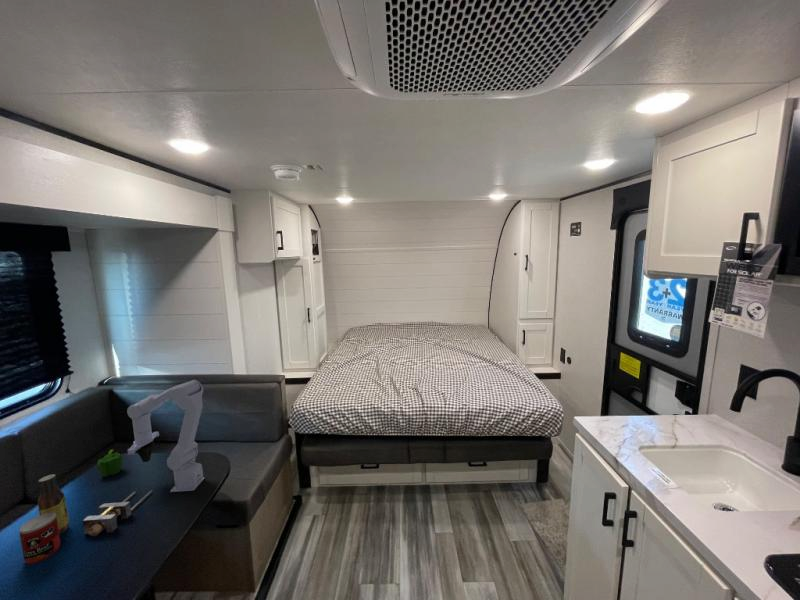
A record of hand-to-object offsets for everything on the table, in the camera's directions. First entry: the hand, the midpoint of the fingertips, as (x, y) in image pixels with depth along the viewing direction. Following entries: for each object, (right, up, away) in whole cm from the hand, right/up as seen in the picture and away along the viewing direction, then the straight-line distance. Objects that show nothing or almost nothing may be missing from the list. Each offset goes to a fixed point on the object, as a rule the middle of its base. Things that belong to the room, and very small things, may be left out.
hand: (146, 461), depth 135 cm
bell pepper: (-22, -10, +9) cm, 26 cm away
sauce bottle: (-12, -12, -24) cm, 30 cm away
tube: (+4, -11, -22) cm, 25 cm away
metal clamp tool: (+4, -11, -16) cm, 20 cm away
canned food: (-6, -13, -33) cm, 36 cm away
